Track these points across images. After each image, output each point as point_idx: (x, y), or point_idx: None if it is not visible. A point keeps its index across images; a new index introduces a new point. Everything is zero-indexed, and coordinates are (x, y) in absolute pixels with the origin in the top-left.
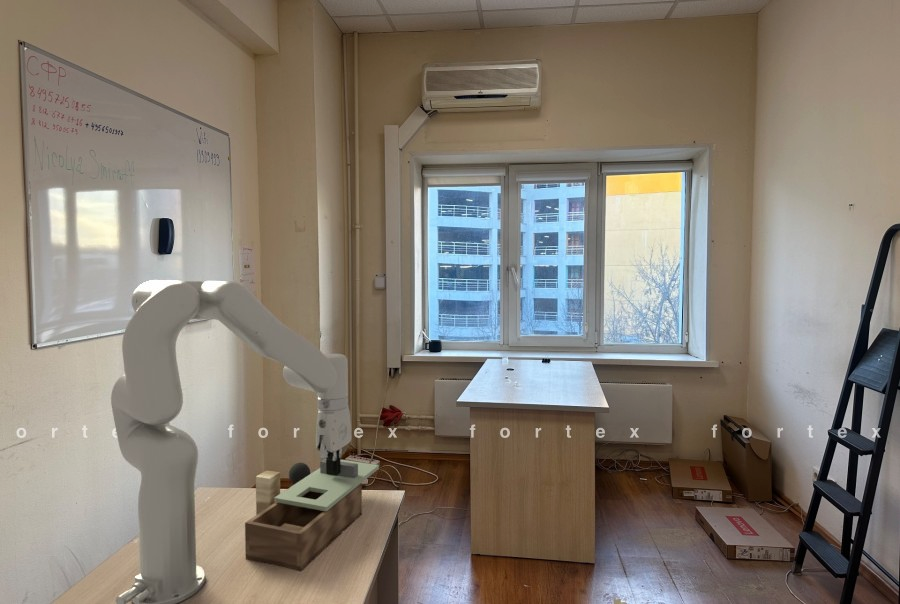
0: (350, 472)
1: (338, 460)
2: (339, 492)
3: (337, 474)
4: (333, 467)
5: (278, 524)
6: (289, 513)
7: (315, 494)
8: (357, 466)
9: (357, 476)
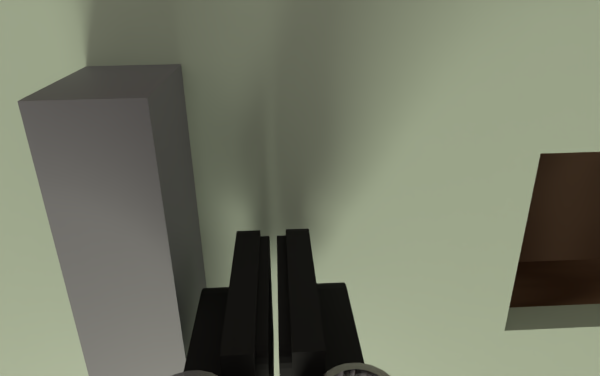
0: (175, 130)
1: (268, 346)
2: (580, 14)
3: (306, 229)
4: (342, 316)
5: (598, 284)
6: (515, 298)
7: None
8: (49, 92)
9: (118, 53)
